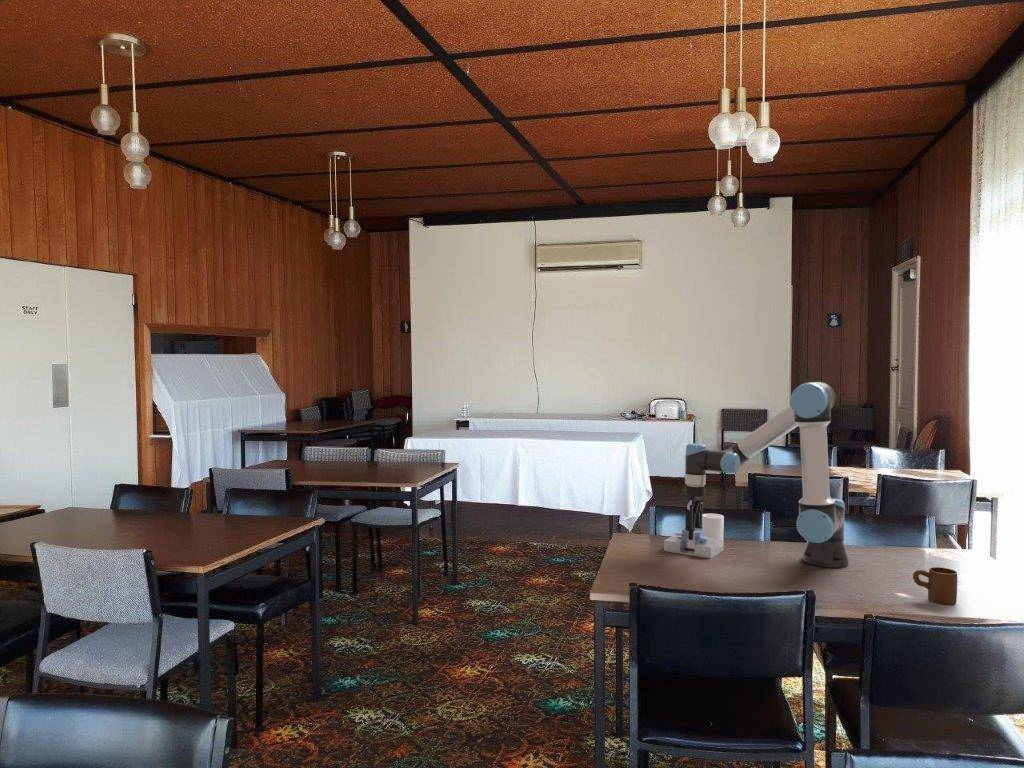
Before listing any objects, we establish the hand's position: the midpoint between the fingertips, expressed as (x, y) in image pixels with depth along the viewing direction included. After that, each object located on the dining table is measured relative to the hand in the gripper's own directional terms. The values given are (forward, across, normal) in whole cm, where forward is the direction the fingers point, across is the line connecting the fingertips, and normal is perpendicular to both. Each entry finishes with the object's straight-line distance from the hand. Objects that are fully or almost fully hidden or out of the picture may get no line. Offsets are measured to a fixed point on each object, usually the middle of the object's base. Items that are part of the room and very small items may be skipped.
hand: (693, 546), depth 282 cm
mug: (+1, +12, +80) cm, 81 cm away
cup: (+2, -18, -1) cm, 18 cm away
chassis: (+2, 0, 0) cm, 2 cm away
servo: (0, 0, 0) cm, 1 cm away
